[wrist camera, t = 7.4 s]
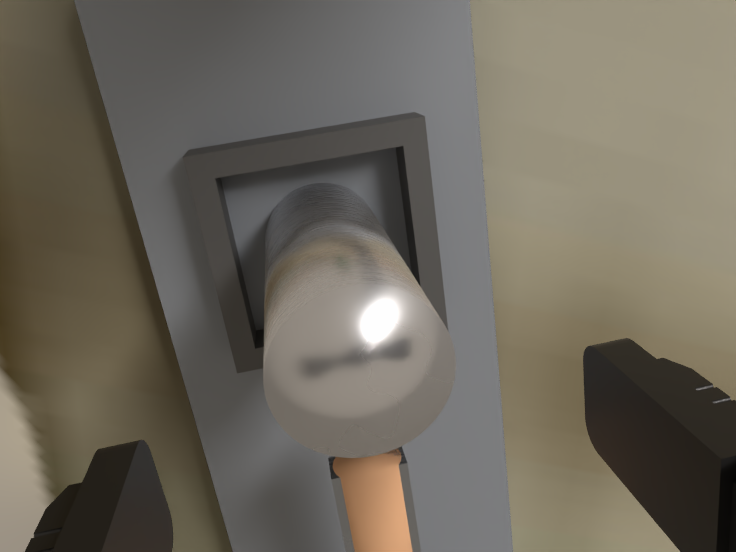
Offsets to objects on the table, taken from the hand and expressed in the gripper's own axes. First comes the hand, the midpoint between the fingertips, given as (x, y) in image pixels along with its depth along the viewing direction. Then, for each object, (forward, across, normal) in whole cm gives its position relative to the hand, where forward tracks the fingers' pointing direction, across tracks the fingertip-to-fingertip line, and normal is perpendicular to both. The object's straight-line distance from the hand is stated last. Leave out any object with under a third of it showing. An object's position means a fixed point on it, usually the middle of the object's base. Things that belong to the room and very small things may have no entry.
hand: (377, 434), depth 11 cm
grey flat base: (+13, 0, +6) cm, 15 cm away
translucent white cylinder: (+12, 0, 0) cm, 12 cm away
